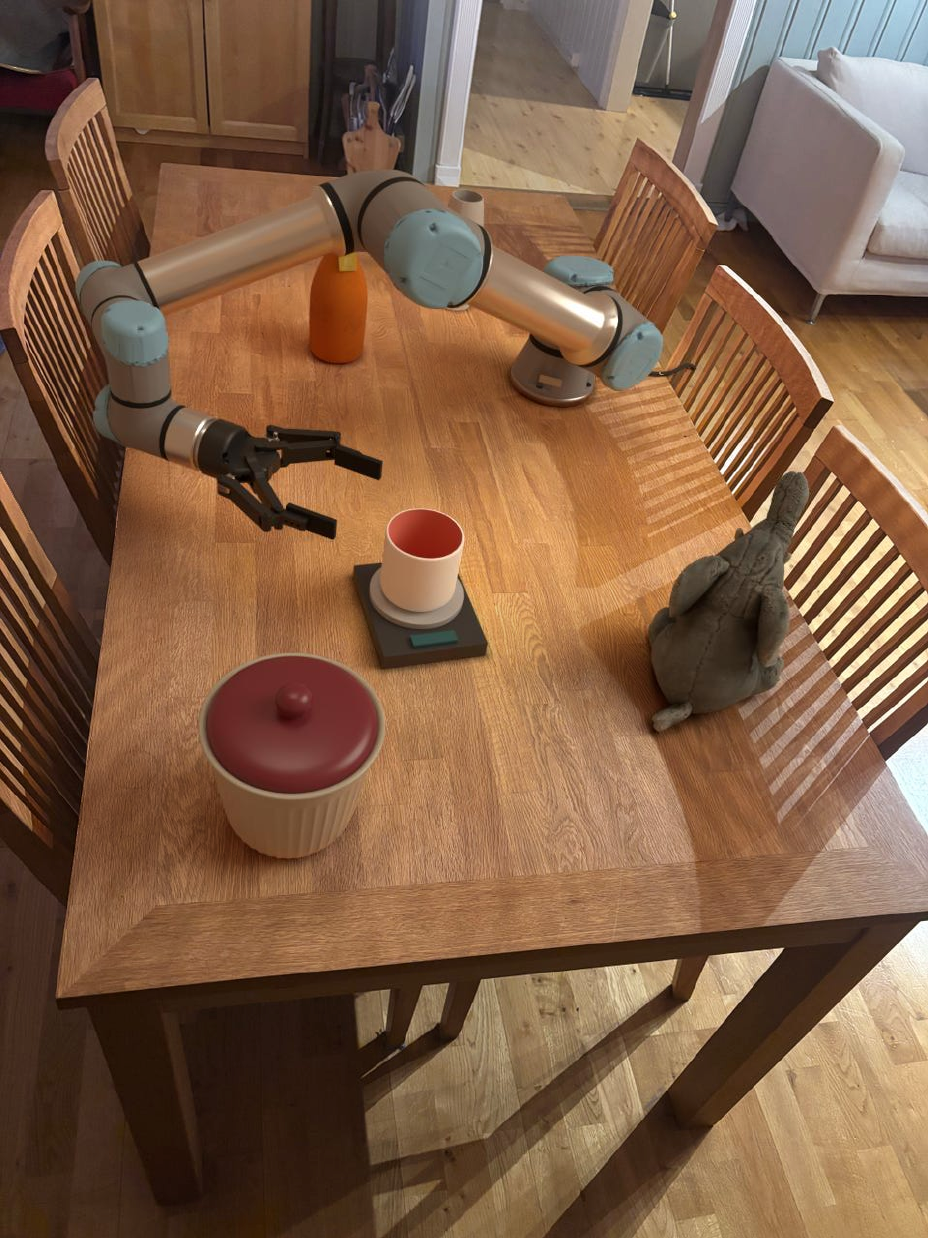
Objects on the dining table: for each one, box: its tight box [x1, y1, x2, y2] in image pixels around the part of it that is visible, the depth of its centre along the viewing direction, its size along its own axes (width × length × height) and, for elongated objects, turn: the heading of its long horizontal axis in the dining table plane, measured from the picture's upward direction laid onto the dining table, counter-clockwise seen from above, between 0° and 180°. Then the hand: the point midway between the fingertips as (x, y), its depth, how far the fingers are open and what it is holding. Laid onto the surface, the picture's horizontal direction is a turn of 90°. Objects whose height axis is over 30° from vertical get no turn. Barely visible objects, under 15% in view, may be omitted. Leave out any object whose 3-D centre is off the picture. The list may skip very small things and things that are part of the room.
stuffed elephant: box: [647, 470, 810, 733], centre depth 122 cm, size 19×21×27 cm
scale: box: [352, 562, 489, 670], centre depth 130 cm, size 14×17×3 cm
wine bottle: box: [308, 252, 369, 364], centre depth 163 cm, size 10×10×30 cm
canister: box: [197, 651, 386, 860], centre depth 99 cm, size 18×18×21 cm
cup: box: [380, 507, 466, 612], centre depth 126 cm, size 10×10×10 cm
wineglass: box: [444, 188, 485, 312], centre depth 185 cm, size 8×8×21 cm
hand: (359, 499), depth 123 cm, fingers open, 13 cm apart
